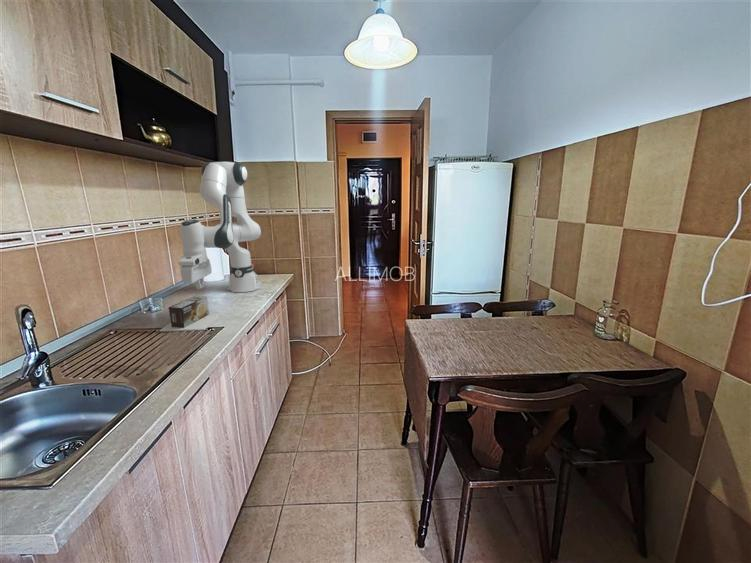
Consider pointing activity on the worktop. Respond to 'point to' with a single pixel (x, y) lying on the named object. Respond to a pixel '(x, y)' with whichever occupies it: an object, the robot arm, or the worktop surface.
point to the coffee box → (188, 311)
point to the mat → (194, 324)
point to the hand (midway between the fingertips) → (200, 288)
